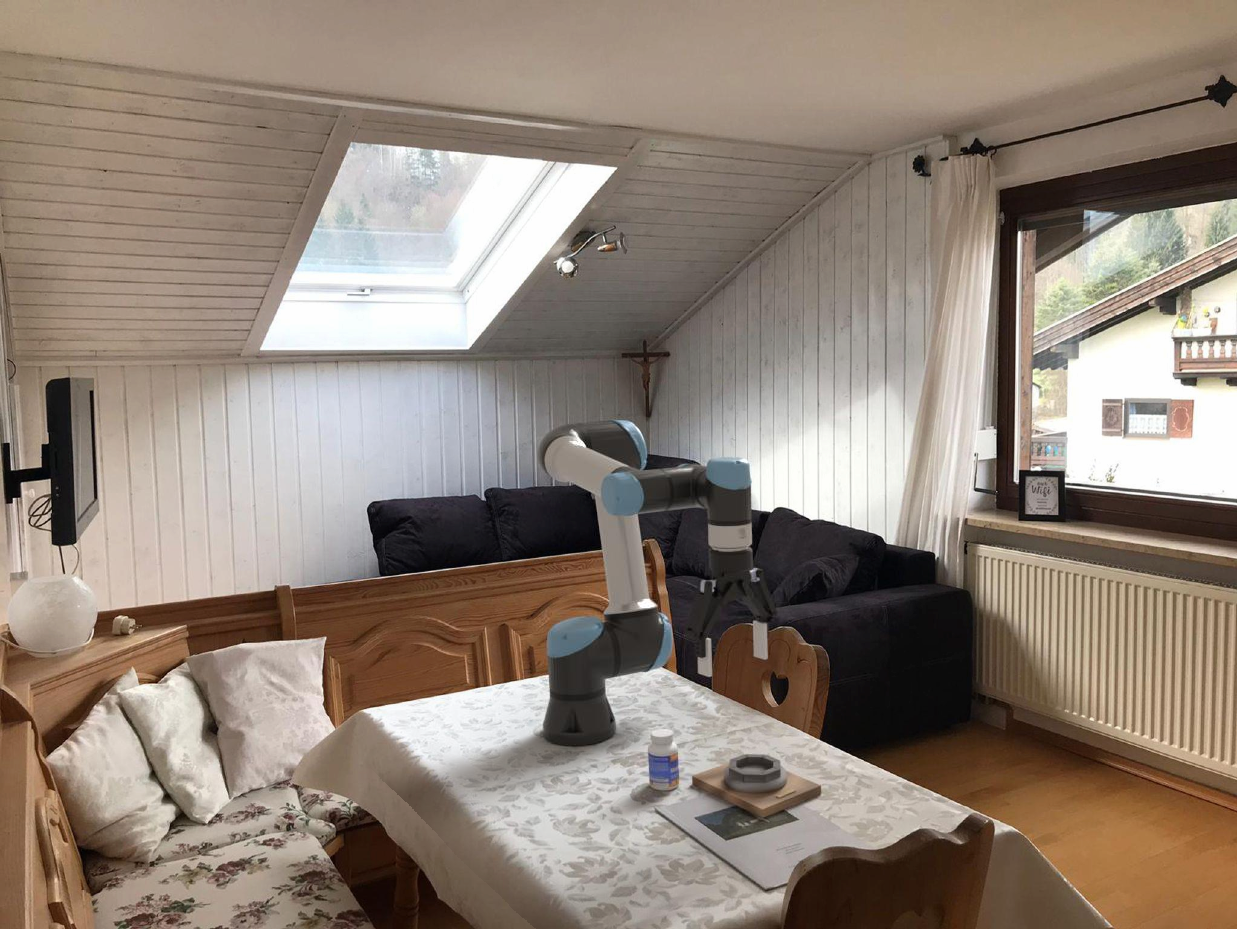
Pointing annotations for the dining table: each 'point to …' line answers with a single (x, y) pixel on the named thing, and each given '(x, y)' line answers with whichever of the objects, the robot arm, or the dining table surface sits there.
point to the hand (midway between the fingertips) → (733, 666)
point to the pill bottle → (663, 761)
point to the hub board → (757, 799)
